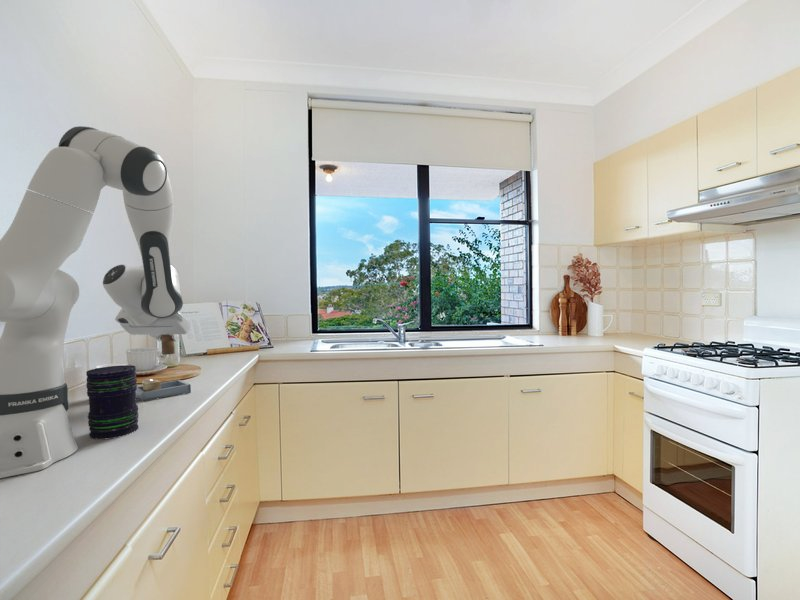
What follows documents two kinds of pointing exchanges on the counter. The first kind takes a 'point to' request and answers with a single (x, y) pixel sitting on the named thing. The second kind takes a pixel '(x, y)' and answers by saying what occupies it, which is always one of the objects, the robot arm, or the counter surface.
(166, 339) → the brown wooden peg
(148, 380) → the silver dome cap
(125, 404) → the dark blue cylinder
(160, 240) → the robot arm
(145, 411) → the counter surface
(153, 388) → the oak block
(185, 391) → the tray
